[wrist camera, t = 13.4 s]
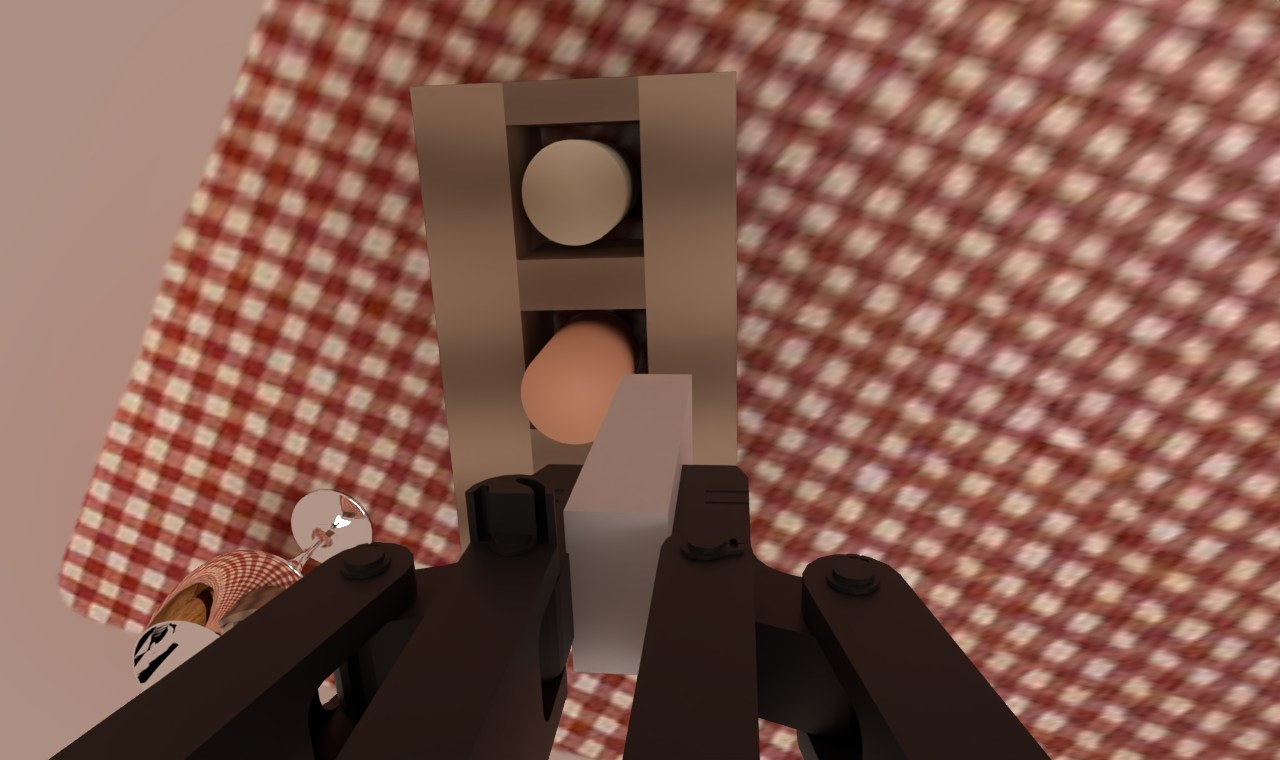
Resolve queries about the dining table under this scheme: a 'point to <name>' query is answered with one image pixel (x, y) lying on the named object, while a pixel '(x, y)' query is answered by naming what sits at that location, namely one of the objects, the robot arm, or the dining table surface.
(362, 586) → the robot arm
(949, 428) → the dining table surface
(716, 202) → the walnut socket block
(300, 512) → the wineglass
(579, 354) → the rust plug
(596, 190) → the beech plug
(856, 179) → the dining table surface
